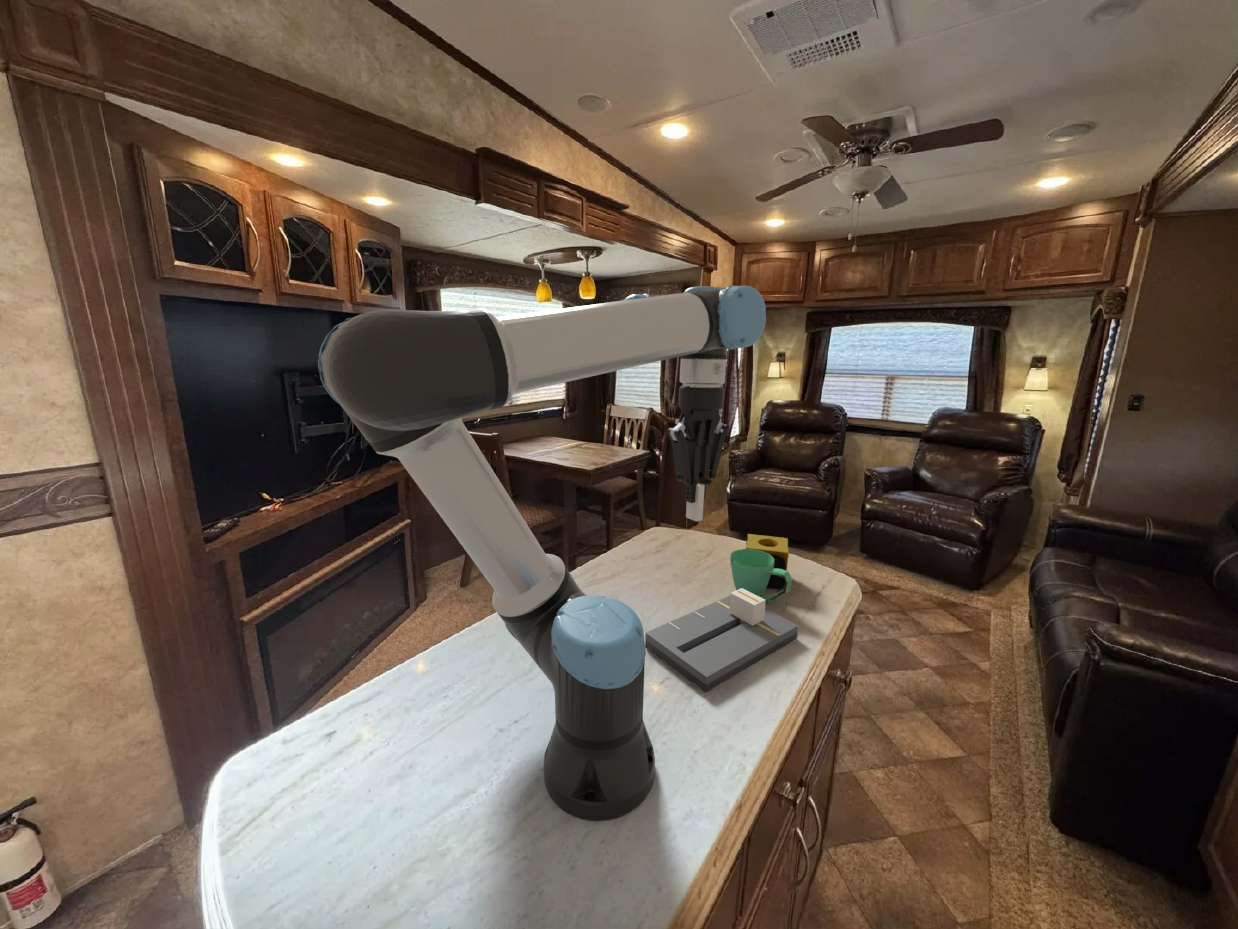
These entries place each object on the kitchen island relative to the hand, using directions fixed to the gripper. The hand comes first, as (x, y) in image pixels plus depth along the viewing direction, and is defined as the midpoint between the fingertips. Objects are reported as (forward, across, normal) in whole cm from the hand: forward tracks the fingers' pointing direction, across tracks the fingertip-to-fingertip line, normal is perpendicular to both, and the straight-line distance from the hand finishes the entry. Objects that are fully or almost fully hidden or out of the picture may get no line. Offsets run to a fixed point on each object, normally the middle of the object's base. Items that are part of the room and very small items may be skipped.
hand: (694, 518), depth 86 cm
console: (+27, +8, -2) cm, 28 cm away
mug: (+27, +27, +4) cm, 38 cm away
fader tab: (+25, +15, -2) cm, 29 cm away
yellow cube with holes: (+26, +36, +10) cm, 46 cm away
